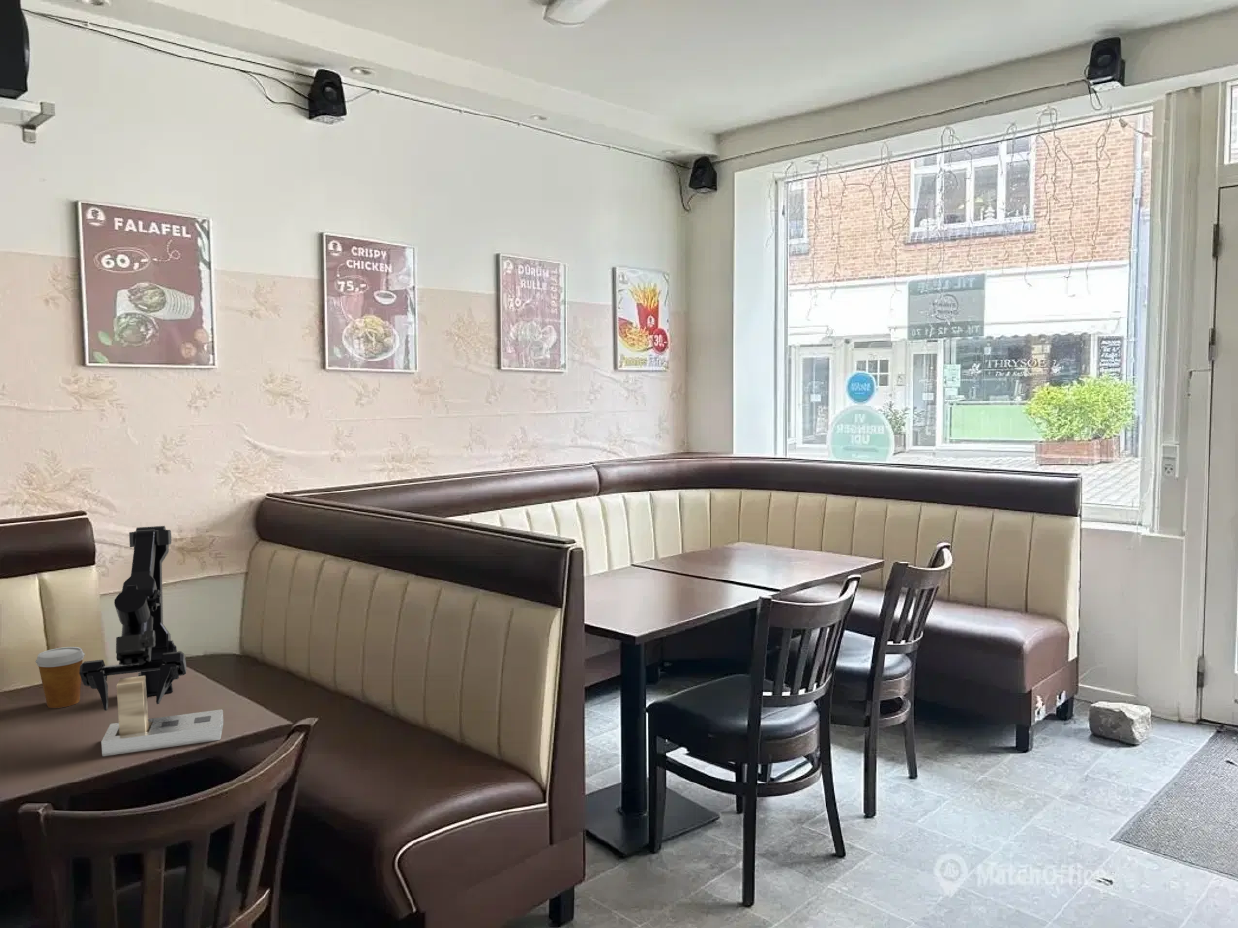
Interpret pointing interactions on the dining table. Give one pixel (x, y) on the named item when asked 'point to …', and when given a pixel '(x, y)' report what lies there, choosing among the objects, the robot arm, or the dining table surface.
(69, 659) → the disposable coffee cup
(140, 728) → the beech peg
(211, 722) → the white flat block
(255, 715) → the dining table surface
